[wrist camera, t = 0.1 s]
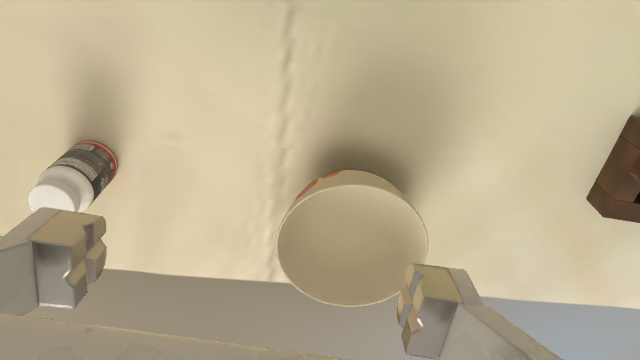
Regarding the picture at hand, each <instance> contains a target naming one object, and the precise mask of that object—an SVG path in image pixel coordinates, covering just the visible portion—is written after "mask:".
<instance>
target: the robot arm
mask: <svg viewBox="0 0 640 360" xmlns="http://www.w3.org/2000/svg"><path fill="white" fill-rule="evenodd" d="M105 232H106V222H105V219H104V218H103V216H97V215H91V214H85V213H79V212H73V211H67V210H62V209H55V208H47V207H40V208H39V209H38V210H36V211H35V212H34V213H33V214H31V215H30V216H29V217H28V218H26V219H25V220H24V221H22V222H21V223H20V224H19V225H17V226H16V227H15V228H14V229H12V230H11V231H10V232H8V233H7V234H6V235H5V236H3V237H2V236H0V360H349V359H342V358H335V357H327V356H319V355H313V354H305V353H297V352H290V351H283V350H275V349H268V348H260V347H253V346H246V345H238V344H231V343H223V342H216V341H208V340H201V339H193V338H186V337H179V336H171V335H164V334H156V333H148V332H142V331H134V330H127V329H120V328H112V327H105V326H96V325H89V324H82V323H74V322H68V321H60V320H53V319H44V318H38V317H30V316H23V315H24V314H26V313H28V312H30V311H31V310H33V309H35V308H37V307H38V305H39V306H48V307H57V308H66V309H75V308H76V306H77V305H78V304H79V302H80V301H81V300H82V299H83V297H84V296H85V295H86V293H87V285H88V284H91V283H93V282H95V281H96V280H97V279H98V277H99V276H100V275H101V272H102V270H103V267H104V265H105V260H106V245H105V244H104V243H103V241H102V240H101V239H100V238H101V237H102V236H103V235H104V234H105ZM405 279H406V283H407V285H406V286H404V287H403V288H402V289H401V290H400V294H399V298H398V305H397V317H398V321H399V325H400V326H401V327H403V328H404V329H403V333H402V340H403V344H404V349H405V353H406V355H411V356H417V357H423V358H429V359H435V360H562V359H561V358H559V357H558V356H557V355H555V354H554V353H553V352H551V351H550V350H548V349H547V348H546V347H544V346H543V345H541V344H540V343H539V342H537V341H536V340H535V339H533V338H532V337H530V336H529V335H527V334H526V333H525V332H524V331H522V330H521V329H519V328H518V327H517V326H515V325H514V324H512V323H511V322H510V321H508V320H507V319H506V318H504V317H503V316H501V315H500V314H499V313H497V312H496V311H494V310H493V309H492V308H490V307H485V306H484V305H483V303H482V301H481V299H480V297H479V295H478V293H477V291H476V289H475V287H474V285H473V283H472V281H471V279H470V277H469V275H468V273H467V272H466V271H465V270H464V269H456V268H447V267H439V266H431V265H423V264H414V263H410V264H409V265H408V267H407V270H406V273H405Z"/></svg>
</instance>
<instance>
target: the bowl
mask: <svg viewBox="0 0 640 360" xmlns="http://www.w3.org/2000/svg"><path fill="white" fill-rule="evenodd" d="M427 253H428V236H427V231H426V228H425V225H424V223H423V221H422V219H421V217H420V216H419V214H418V213H417V211H416V210H415V209H414V207H413V206H412V205H411V204H410V202H409V201H408V200H407V199H406V198H405V196H404V195H403V194H402V193H401V192H400V191H399V190H398V189H397V188H396V187H395V186H394V185H392V184H391V183H390V182H388V181H387V180H385V179H383V178H381V177H379V176H377V175H375V174H372V173H369V172H365V171H359V170H343V171H337V172H333V173H329V174H327V175H324V176H322V177H320V178H318V179H316V180H315V181H313V182H312V183H311V184H309V185H308V186H307V187H306V188H305V189H304V190H303V191H302V192H301V193H300V194H299V195H298V197H297V198H296V200H295V201H294V202H293V204H292V206H291V207H290V209H289V210H288V212H287V214H286V215H285V217H284V219H283V220H282V222H281V225H280V227H279V230H278V233H277V237H276V255H277V259H278V263H279V265H280V268H281V270H282V271H283V273H284V275H285V276H286V278H287V279H288V280H289V281H290V282H291V283H292V284H293V285H294V286H295V287H296V288H297V289H298V290H299V291H301V292H302V293H304V294H305V295H307V296H309V297H311V298H313V299H315V300H318V301H320V302H323V303H327V304H330V305H336V306H345V307H356V306H365V305H371V304H375V303H378V302H382V301H384V300H387V299H389V298H390V297H393V296H395V295H397V294H398V293H400V290H401V289H402V288H403V287H404V286H406V285H407V283H406V279H405V273H406V270H407V267H408V265H409V264H410V263H414V264H423V265H424V263H425V260H426V257H427Z"/></svg>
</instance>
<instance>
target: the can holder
mask: <svg viewBox="0 0 640 360" xmlns="http://www.w3.org/2000/svg"><path fill="white" fill-rule="evenodd" d="M586 199H587V200H588V201H589V203H590V204H591V205H592V206H593V207H594V208H595V209H596V210H597V211H598V212H599V213H600V214H601V215H602V216H603V217H606V218H612V219H618V220H625V221H631V222H637V223H640V117H634V116H630V118H629V120H628V122H627V124H626V125H625V127H624V129H623V131H622V133H621V136H620V137H619V138H618V140H617V142H616V144H615V146H614V148H613V150H612V152H611V153H610V155H609V157H608V159H607V161H606V163H605V165H604V167H603V169H602V170H601V172H600V174H599V176H598V178H597V180H596V183H594V185H593V187H592V189H591V191H590V193H589V195H588V197H587V198H586Z"/></svg>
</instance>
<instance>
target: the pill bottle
mask: <svg viewBox="0 0 640 360" xmlns="http://www.w3.org/2000/svg"><path fill="white" fill-rule="evenodd" d="M116 172H117V162H116V159H115V157H114V155H113V154H112V153H111V152H110V151H109V150H108V149H107V148H106V147H104V146H103V145H101V144H99V143H96V142H90V141H86V142H81V143H78V144H76V145H75V146H73V147H72V148H71V149H70V150H68V151H67V152H66V153H65V154H64V155H63V156H61V157H60V158H59V159H58V160H57V161H56V162H54V163H53V164H52V165H51V166H50V167H48V168H47V169H46V170H45V171H44V172H43V173H42V174H41V176H40V177H39V180H38V184H37V185H36V186H35V187H34V188H33V189H32V190H31V191H30V192H29V195H28V203H29V206H30V208H31V209H32V211H33V212H35V211H36V210H38V209H39V208H40V207H47V208H55V209H62V210H67V211H73V212H81V211H83V210H85V209H86V208H88V207H89V206H90V205H91V204H92V202H93V201H94V200H95V199H96V198H97V197H98V195H99V194H100V193H101V192H102V191H103V190H104V189H105V187H106V186H107V185H108V184H109V183H110V182H111V181H112V179H113V178H114V177H115V175H116Z"/></svg>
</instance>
